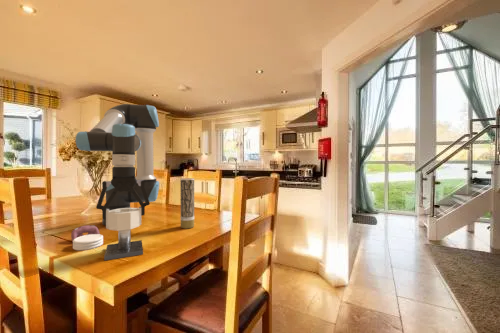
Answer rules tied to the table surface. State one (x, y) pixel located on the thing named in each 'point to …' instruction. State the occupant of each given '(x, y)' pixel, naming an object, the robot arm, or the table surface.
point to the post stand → (123, 247)
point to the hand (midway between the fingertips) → (124, 225)
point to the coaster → (87, 242)
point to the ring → (123, 219)
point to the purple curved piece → (84, 231)
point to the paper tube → (187, 203)
